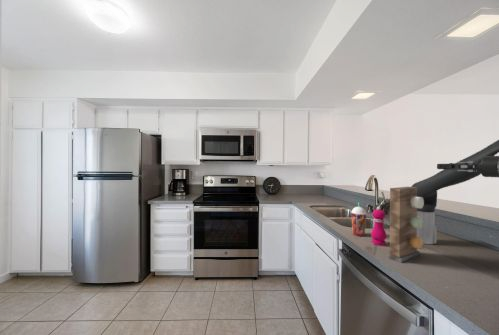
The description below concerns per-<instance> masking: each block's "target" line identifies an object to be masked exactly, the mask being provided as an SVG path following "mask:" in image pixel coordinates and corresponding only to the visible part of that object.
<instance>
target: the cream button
mask: <svg viewBox="0 0 499 335" xmlns="http://www.w3.org/2000/svg"><path fill="white" fill-rule="evenodd" d="M423 205H424V200H423V198H422V197H416V196H413V197H412V198H411V206H412V207H414V208H422V207H423Z"/></svg>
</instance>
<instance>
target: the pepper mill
mask: <svg viewBox="0 0 499 335" xmlns="http://www.w3.org/2000/svg"><path fill="white" fill-rule="evenodd" d="M372 217H373V221H374V226H373V229H372V230H371V232H370V236H371V238H372V239H371V242H372V244H373V245H376V246H382V247H384V246H386V239H387V233H386V230H385V228H384V222H385V218H386V213H385V211H384V210H382V209H381V207H380V206H377V207H376V209H375V210H373V211H372Z"/></svg>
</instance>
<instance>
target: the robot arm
mask: <svg viewBox="0 0 499 335" xmlns="http://www.w3.org/2000/svg"><path fill="white" fill-rule="evenodd" d="M497 154H499V139H498V140H496V141H494V142H492V143H491V144H489V145H487V146H486V147H484V148H482V149H481V150H479V151H477V152H475V153H473V154H471V155H470V156H467V157H464V158H463V159H460V160H458V161H457V162H455V163H454V162H449V163H437V164H436V169H437V170H441V171H439V172H437V173H436V174H434V175H432V176H430V177H427V178H424V179H423V180H419V181H417V182H415V183H413V184H412V185H411V186H410V187H417V197H422V198H423V200H424V205H423V207H422V208H417V217H421V218H423V220H424V224H423V227H422V229H418V228H417V237H420V238H422V239H423V242H424V243H423V245H434V244H435V245H436V244H437V226H436V225H435V223H436V220H435V217H436V216H435V215H436V214H435V213H436V212H435V210H436V207H437V204H438V190H441V189H444V188H447V187H452V186H455V185H459V184H461V183H465V182H467V181H470V180H471V179H474V178H476V177H479V176H480V175H481V176H482V177H484V178H499V155H497Z"/></svg>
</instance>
